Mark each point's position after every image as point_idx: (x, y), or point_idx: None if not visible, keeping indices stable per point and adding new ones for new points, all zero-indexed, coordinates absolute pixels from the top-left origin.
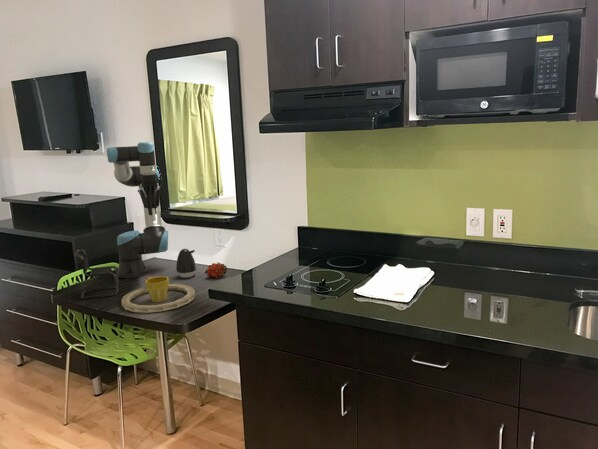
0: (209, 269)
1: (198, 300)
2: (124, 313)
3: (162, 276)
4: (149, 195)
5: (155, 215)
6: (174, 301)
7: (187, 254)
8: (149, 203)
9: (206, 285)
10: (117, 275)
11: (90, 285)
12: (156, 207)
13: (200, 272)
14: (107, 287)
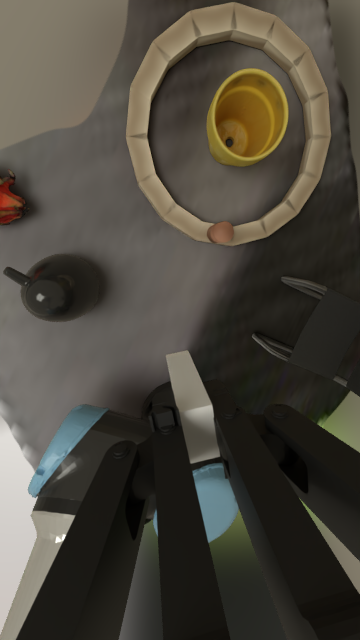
0: (6, 194)
1: (150, 24)
2: (334, 117)
3: (219, 139)
4: (345, 599)
5: (171, 374)
6: (230, 29)
7: (45, 271)
8: (268, 451)
9: (62, 146)
10: (264, 341)
11: (285, 396)
12: (163, 409)
13: (19, 291)
14: (275, 341)
